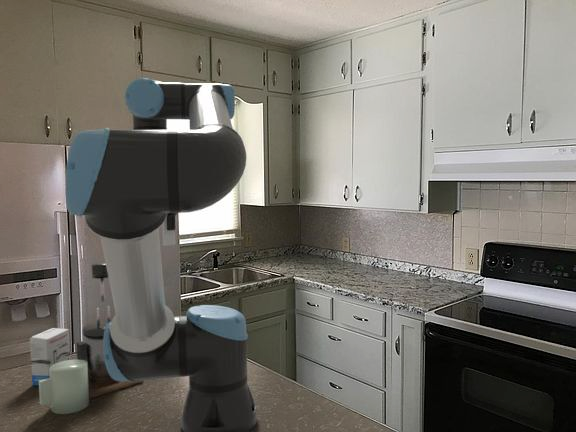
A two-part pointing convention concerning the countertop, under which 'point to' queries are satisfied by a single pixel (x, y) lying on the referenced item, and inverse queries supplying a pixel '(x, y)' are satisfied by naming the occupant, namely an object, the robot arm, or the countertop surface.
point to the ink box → (48, 352)
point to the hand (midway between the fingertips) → (153, 242)
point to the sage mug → (66, 387)
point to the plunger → (100, 275)
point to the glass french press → (98, 359)
